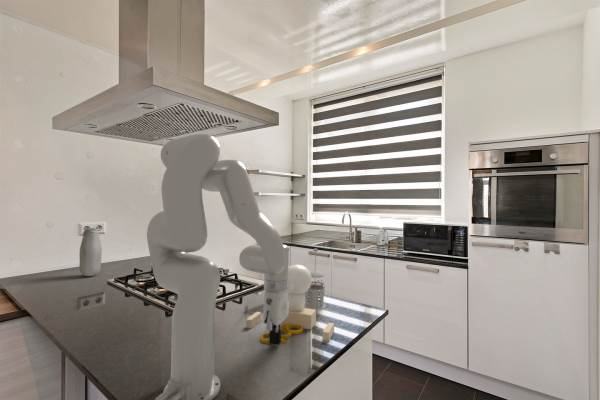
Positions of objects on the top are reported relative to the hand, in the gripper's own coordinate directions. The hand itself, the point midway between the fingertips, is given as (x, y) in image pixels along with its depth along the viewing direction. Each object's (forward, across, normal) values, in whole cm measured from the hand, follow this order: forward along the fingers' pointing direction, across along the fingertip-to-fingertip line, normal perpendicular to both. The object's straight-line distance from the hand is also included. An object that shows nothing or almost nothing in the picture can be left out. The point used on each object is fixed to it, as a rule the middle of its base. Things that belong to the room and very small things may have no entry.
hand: (275, 343), depth 93 cm
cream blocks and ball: (+1, +17, 0) cm, 17 cm away
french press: (+1, +39, -2) cm, 39 cm away
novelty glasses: (+2, +8, +1) cm, 8 cm away
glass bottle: (+1, +39, +134) cm, 139 cm away
